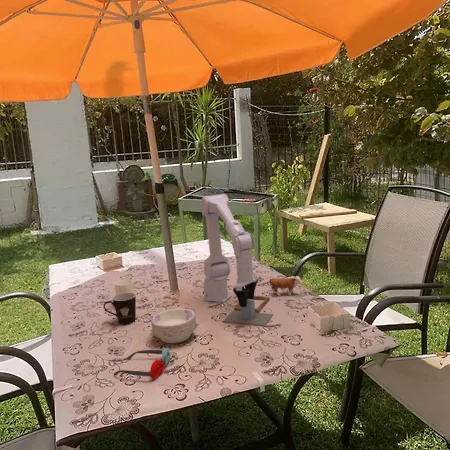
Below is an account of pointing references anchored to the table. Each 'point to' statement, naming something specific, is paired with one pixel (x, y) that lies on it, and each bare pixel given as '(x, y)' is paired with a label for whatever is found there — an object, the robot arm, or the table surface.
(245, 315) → the blue block
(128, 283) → the white cup
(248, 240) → the robot arm
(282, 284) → the bull figurine
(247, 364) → the table surface
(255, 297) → the pocket frame
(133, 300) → the coffee mug
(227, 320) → the rubber mat
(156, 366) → the novelty glasses
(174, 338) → the white round bowl
